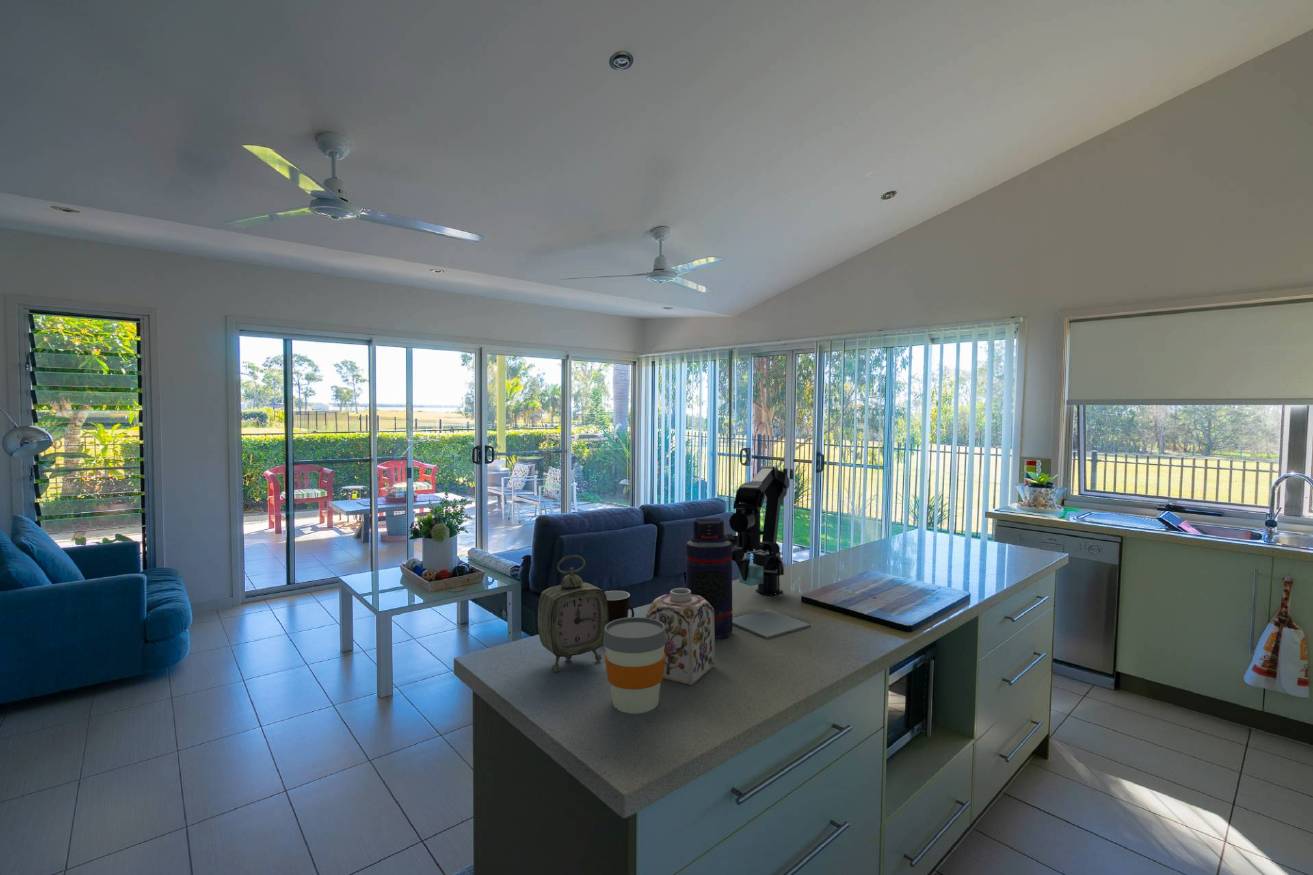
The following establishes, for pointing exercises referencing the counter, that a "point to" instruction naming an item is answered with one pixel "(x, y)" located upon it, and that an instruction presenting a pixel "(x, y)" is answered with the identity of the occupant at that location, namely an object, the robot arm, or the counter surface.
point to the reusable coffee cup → (635, 662)
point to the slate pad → (768, 623)
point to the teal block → (753, 575)
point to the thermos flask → (711, 570)
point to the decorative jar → (686, 634)
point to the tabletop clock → (572, 616)
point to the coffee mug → (618, 605)
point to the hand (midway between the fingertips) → (751, 579)
